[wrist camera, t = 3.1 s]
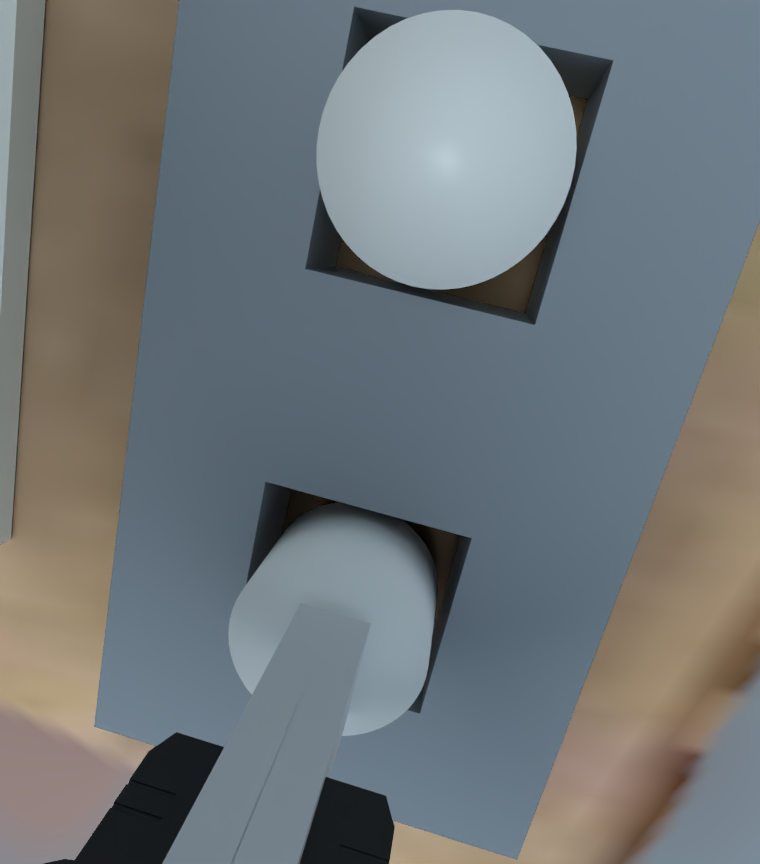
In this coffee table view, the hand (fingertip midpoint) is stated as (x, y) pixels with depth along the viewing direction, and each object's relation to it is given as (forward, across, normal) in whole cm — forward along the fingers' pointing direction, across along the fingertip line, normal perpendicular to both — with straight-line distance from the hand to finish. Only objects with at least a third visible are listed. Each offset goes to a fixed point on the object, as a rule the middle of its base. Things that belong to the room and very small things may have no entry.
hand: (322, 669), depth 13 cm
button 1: (+4, 0, 0) cm, 4 cm away
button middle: (+4, 0, +10) cm, 11 cm away
